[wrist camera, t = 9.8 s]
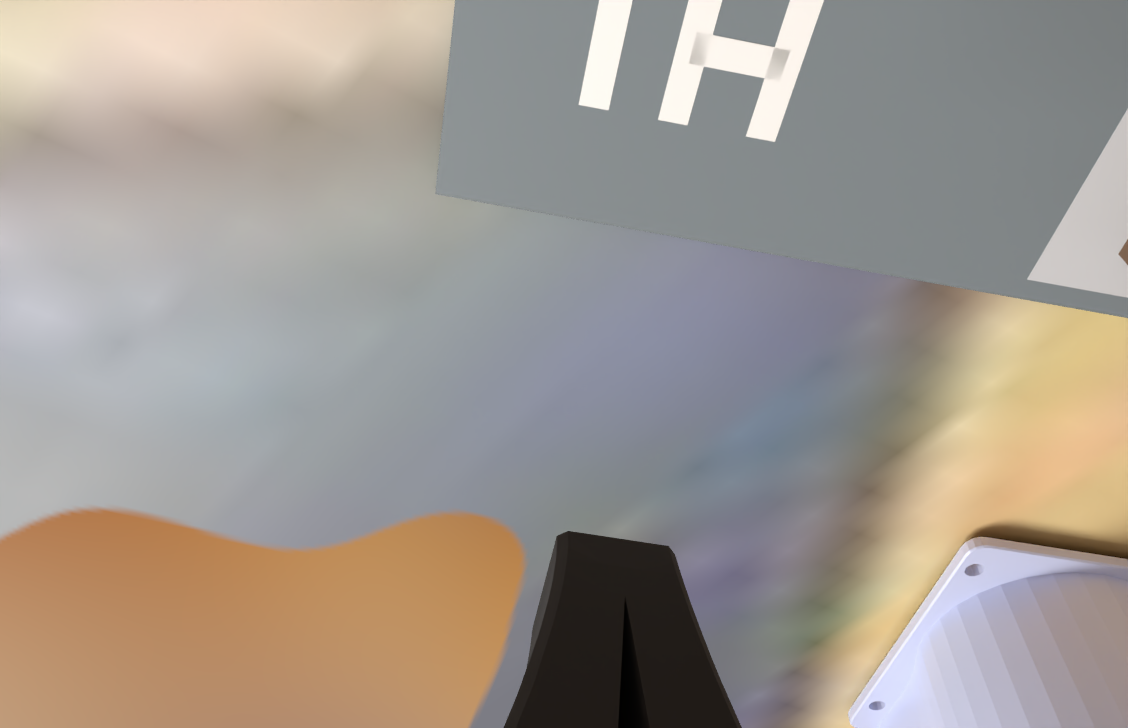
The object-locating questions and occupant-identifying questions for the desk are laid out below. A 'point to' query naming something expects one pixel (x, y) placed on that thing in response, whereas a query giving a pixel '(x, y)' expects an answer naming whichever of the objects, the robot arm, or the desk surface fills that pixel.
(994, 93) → the board
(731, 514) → the desk surface
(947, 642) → the robot arm
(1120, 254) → the walnut block
